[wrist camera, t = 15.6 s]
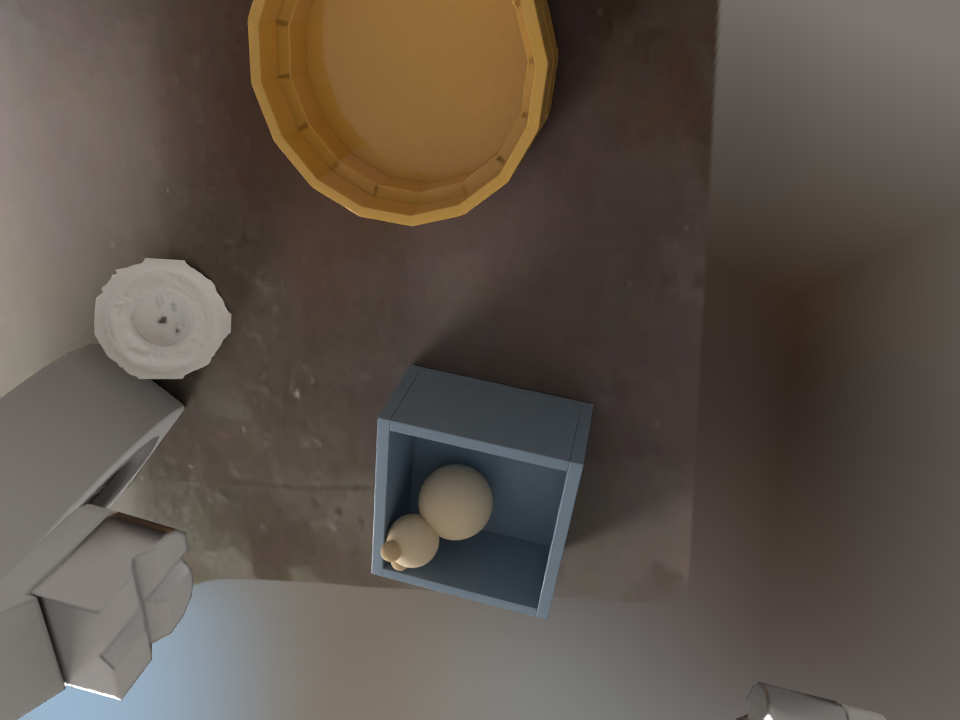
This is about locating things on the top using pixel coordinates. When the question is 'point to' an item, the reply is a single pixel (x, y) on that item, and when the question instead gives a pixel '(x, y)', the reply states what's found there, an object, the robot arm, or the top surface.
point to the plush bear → (439, 516)
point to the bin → (506, 467)
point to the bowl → (404, 97)
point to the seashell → (160, 319)
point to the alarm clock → (73, 443)
